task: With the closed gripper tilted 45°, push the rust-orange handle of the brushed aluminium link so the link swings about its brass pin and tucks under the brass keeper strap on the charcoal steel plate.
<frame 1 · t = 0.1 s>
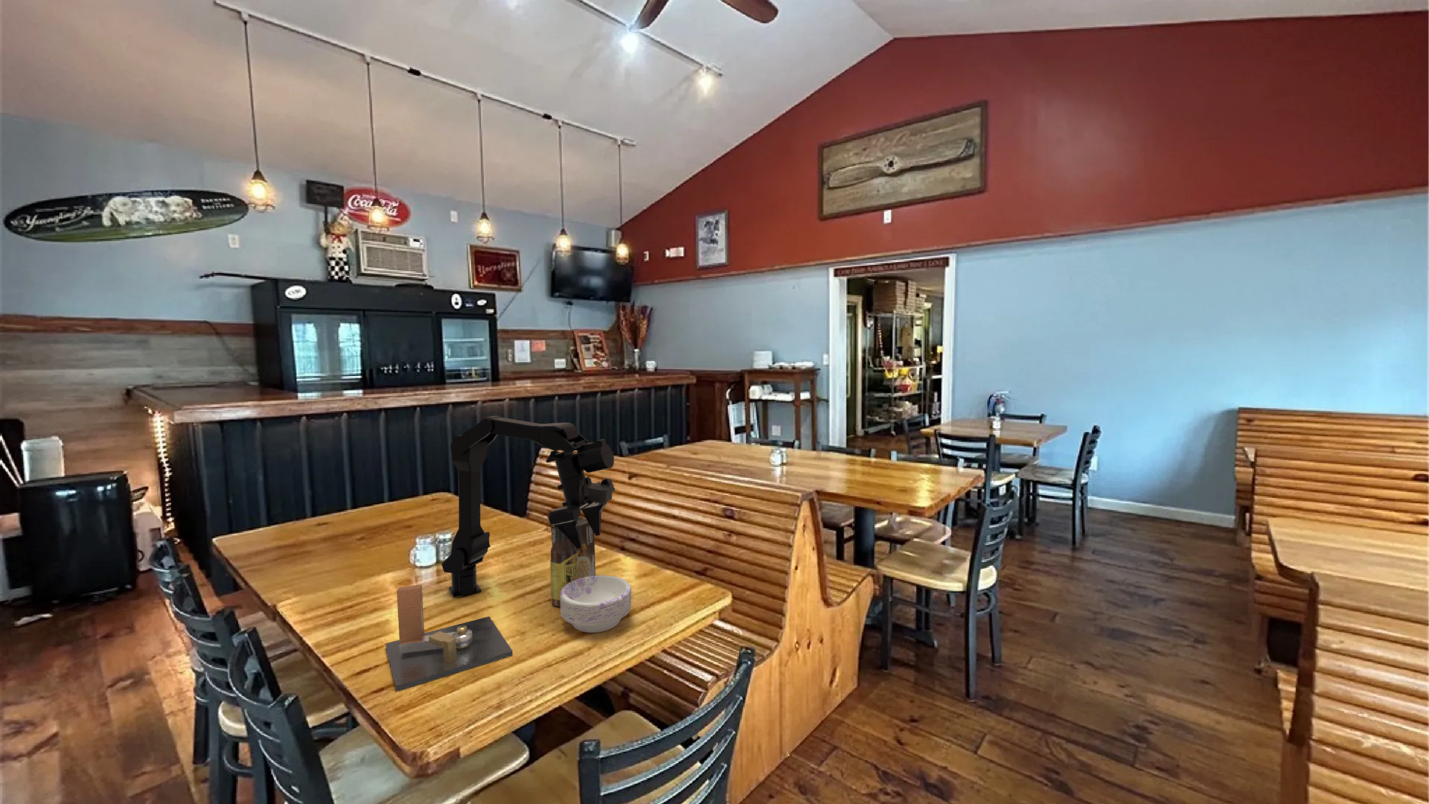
hand: (589, 541, 131), 15 cm above the table, tool pointing down, fingers open, 9 cm apart
paper bowls: (596, 623, 124), on the table
coffee box: (574, 584, 145), on the table
sauce bottle: (565, 603, 134), on the table
link: (435, 615, 111), point 8 cm above the table, hinge at 0.0°
base plate: (448, 651, 112), on the table
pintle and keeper: (462, 650, 113), resting on base plate
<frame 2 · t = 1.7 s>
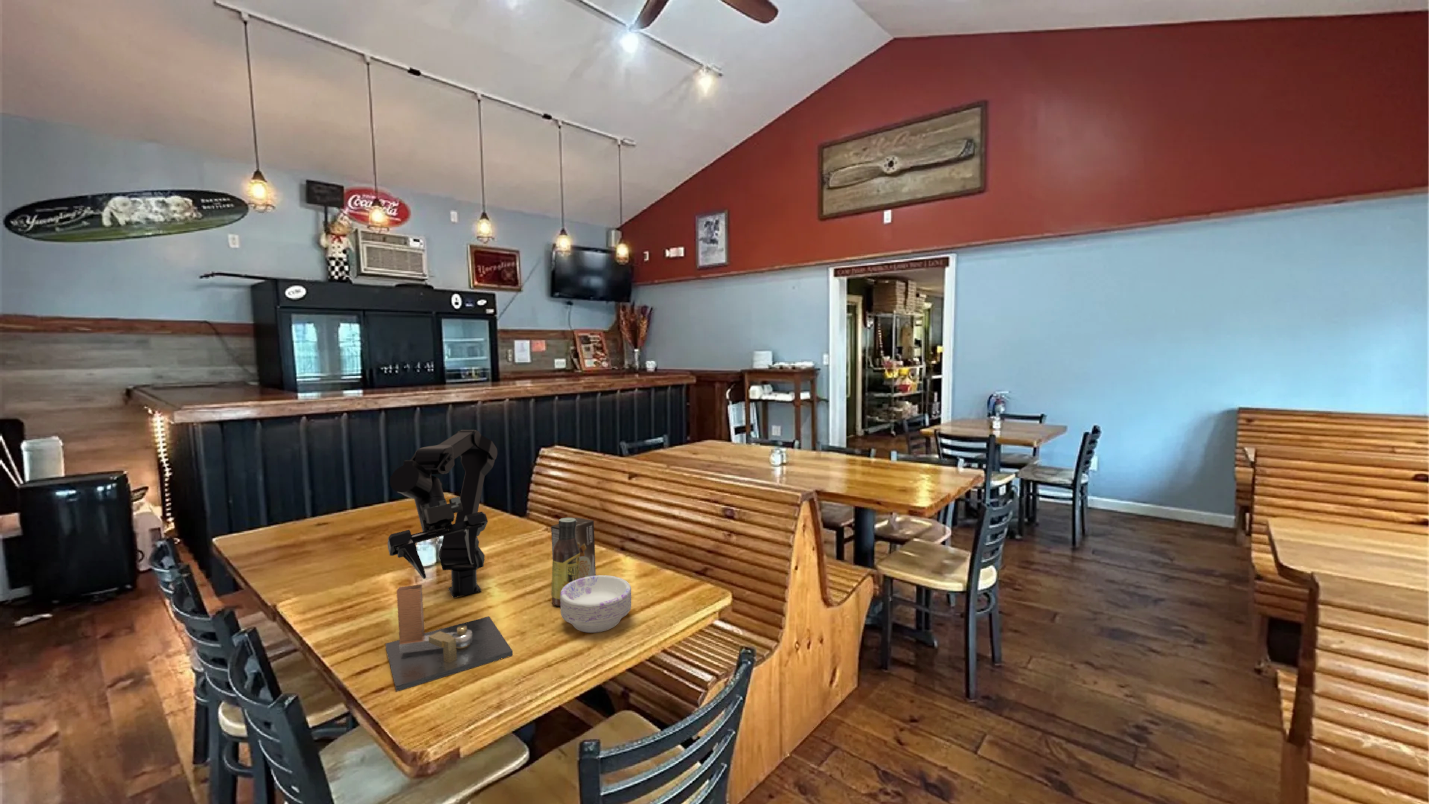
hand: (449, 570, 116), 15 cm above the table, tool tilted 35°, fingers open, 9 cm apart
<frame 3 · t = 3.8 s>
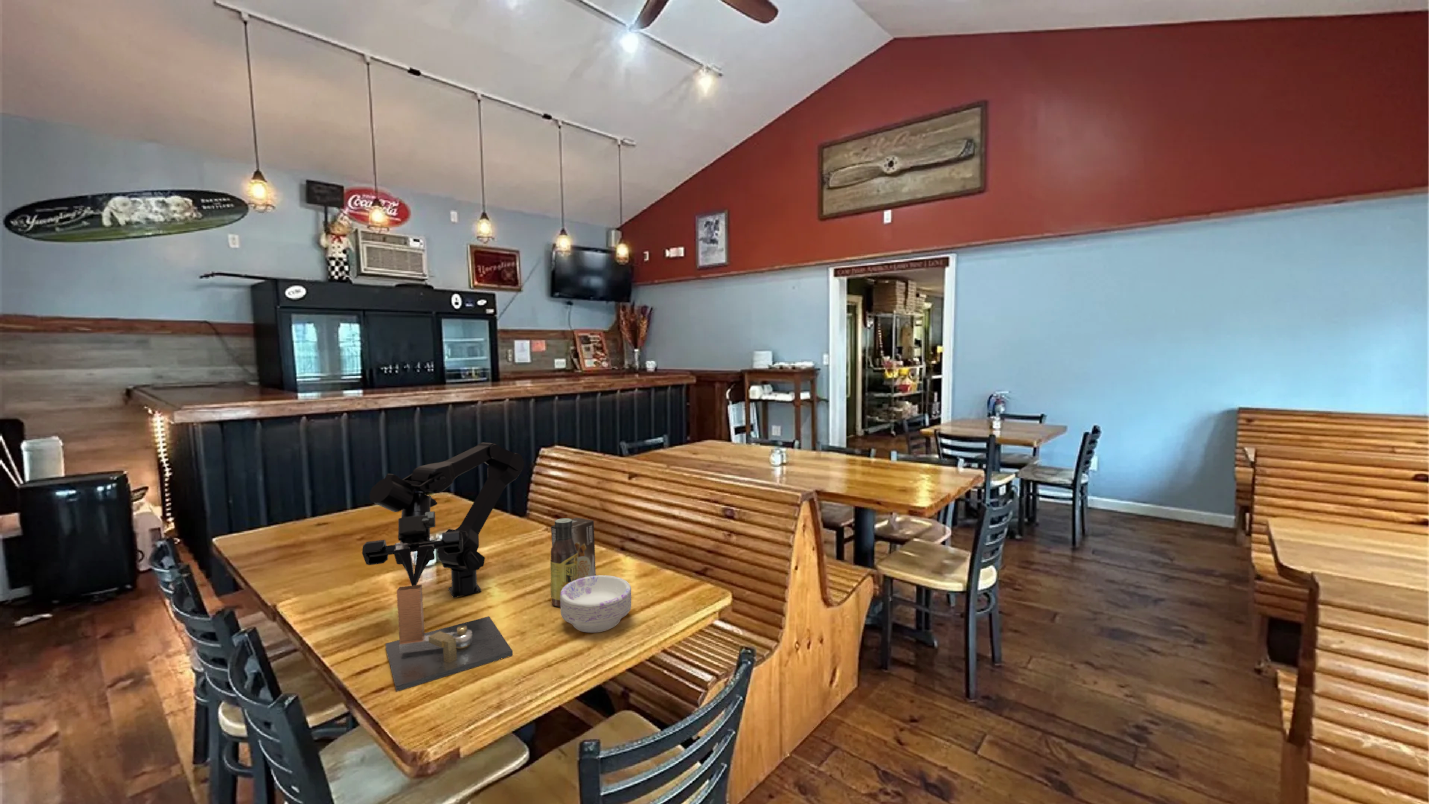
hand: (413, 585, 116), 12 cm above the table, tool tilted 45°, fingers closed
nothing on the table moved.
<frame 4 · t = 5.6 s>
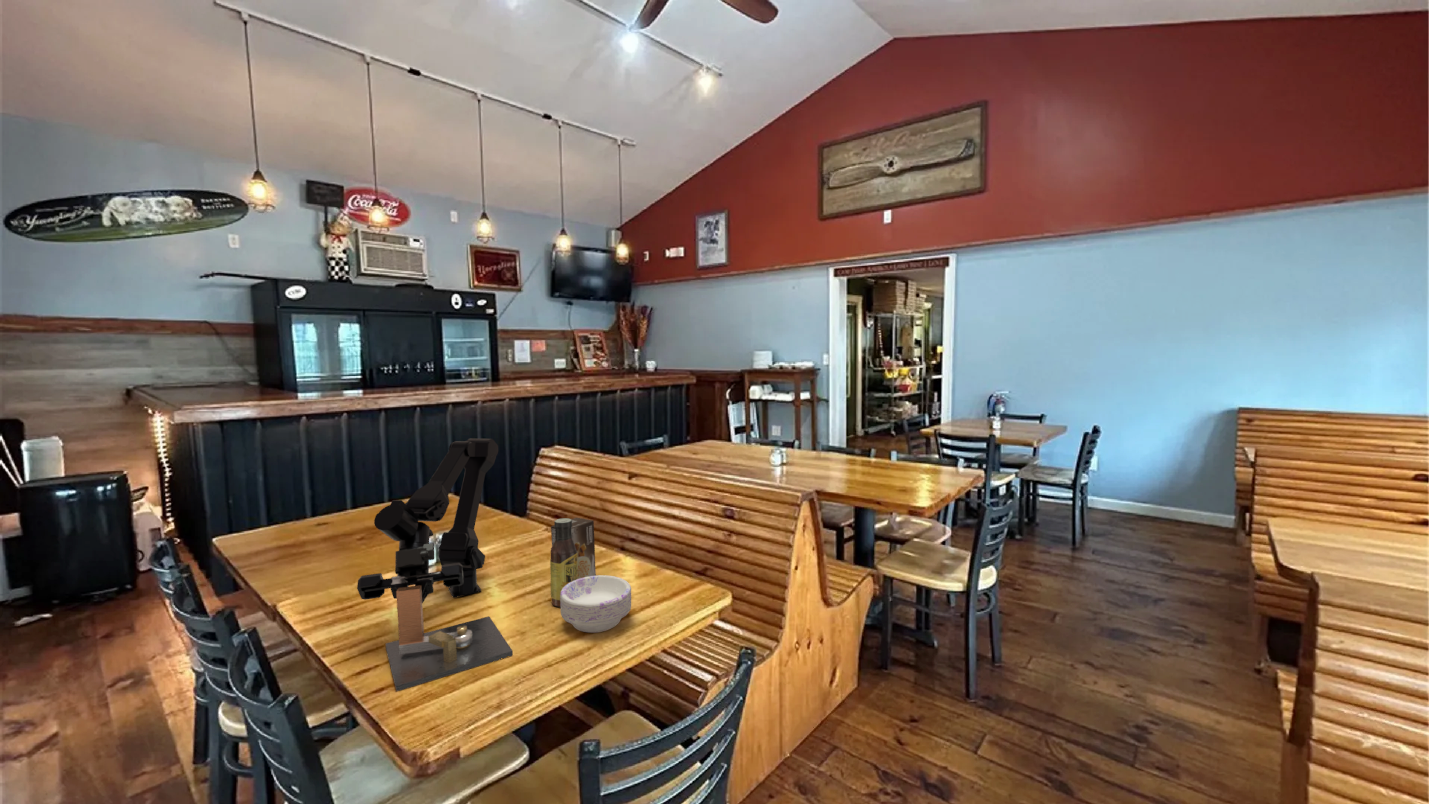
hand: (411, 621, 110), 7 cm above the table, tool tilted 45°, fingers closed, pressing on link
link: (435, 615, 111), point 8 cm above the table, hinge at 2.3°, touching gripper
everything else where it was.
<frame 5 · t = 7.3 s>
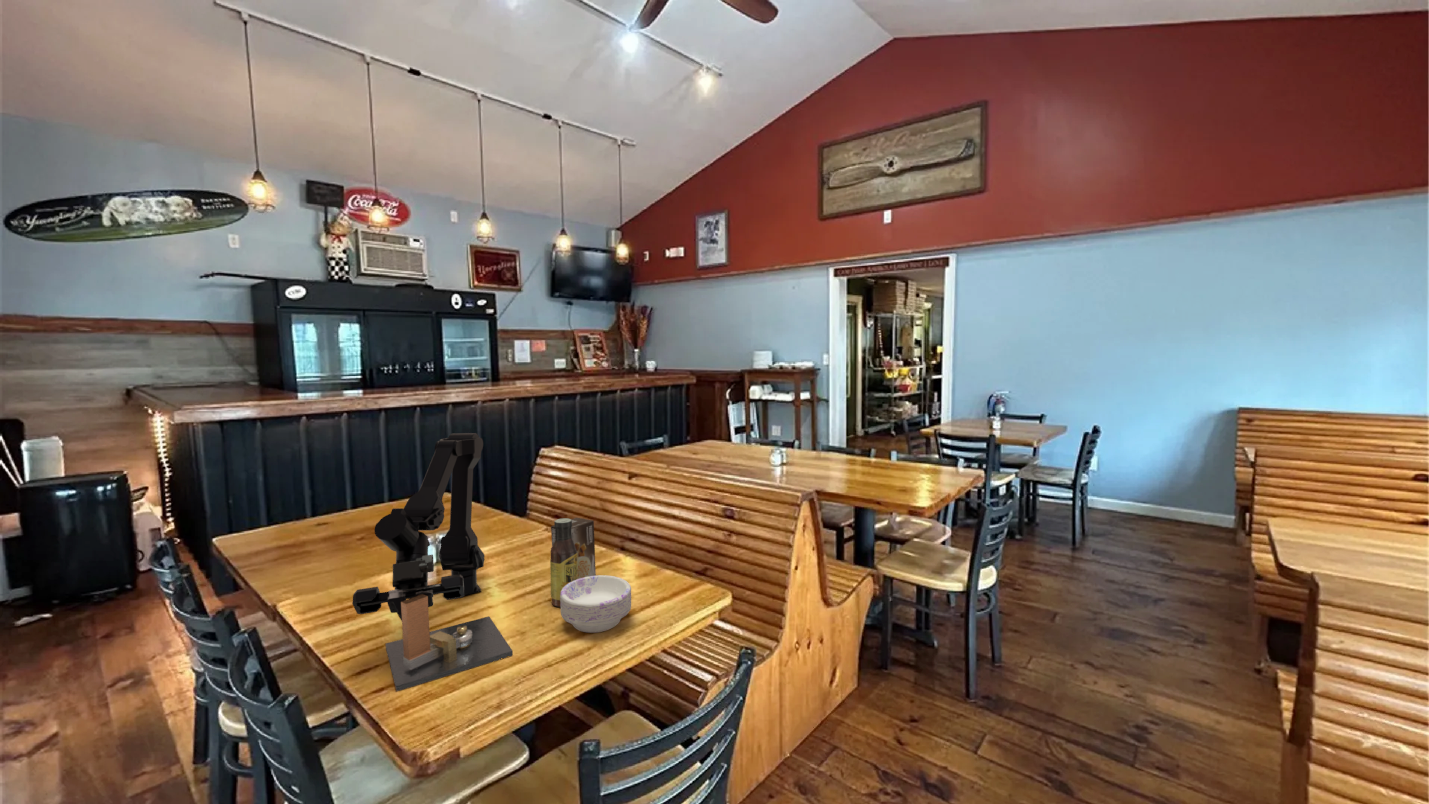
hand: (410, 637, 105), 6 cm above the table, tool tilted 45°, fingers closed
link: (438, 621, 108), point 8 cm above the table, hinge at 40.9°, touching gripper
everything else where it was.
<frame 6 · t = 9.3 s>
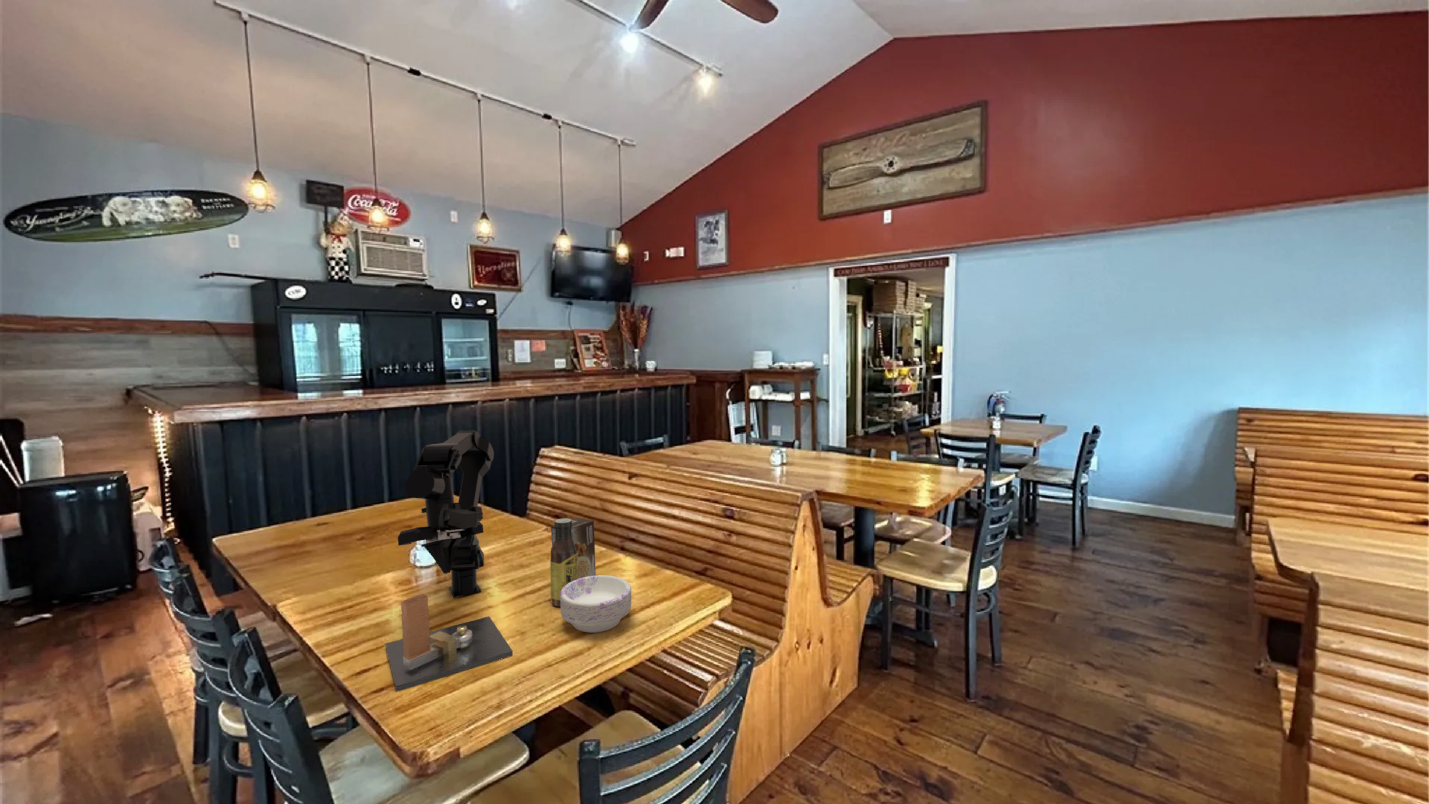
hand: (447, 573, 121), 12 cm above the table, tool tilted 20°, fingers closed
link: (438, 621, 108), point 8 cm above the table, hinge at 40.9°
everything else where it was.
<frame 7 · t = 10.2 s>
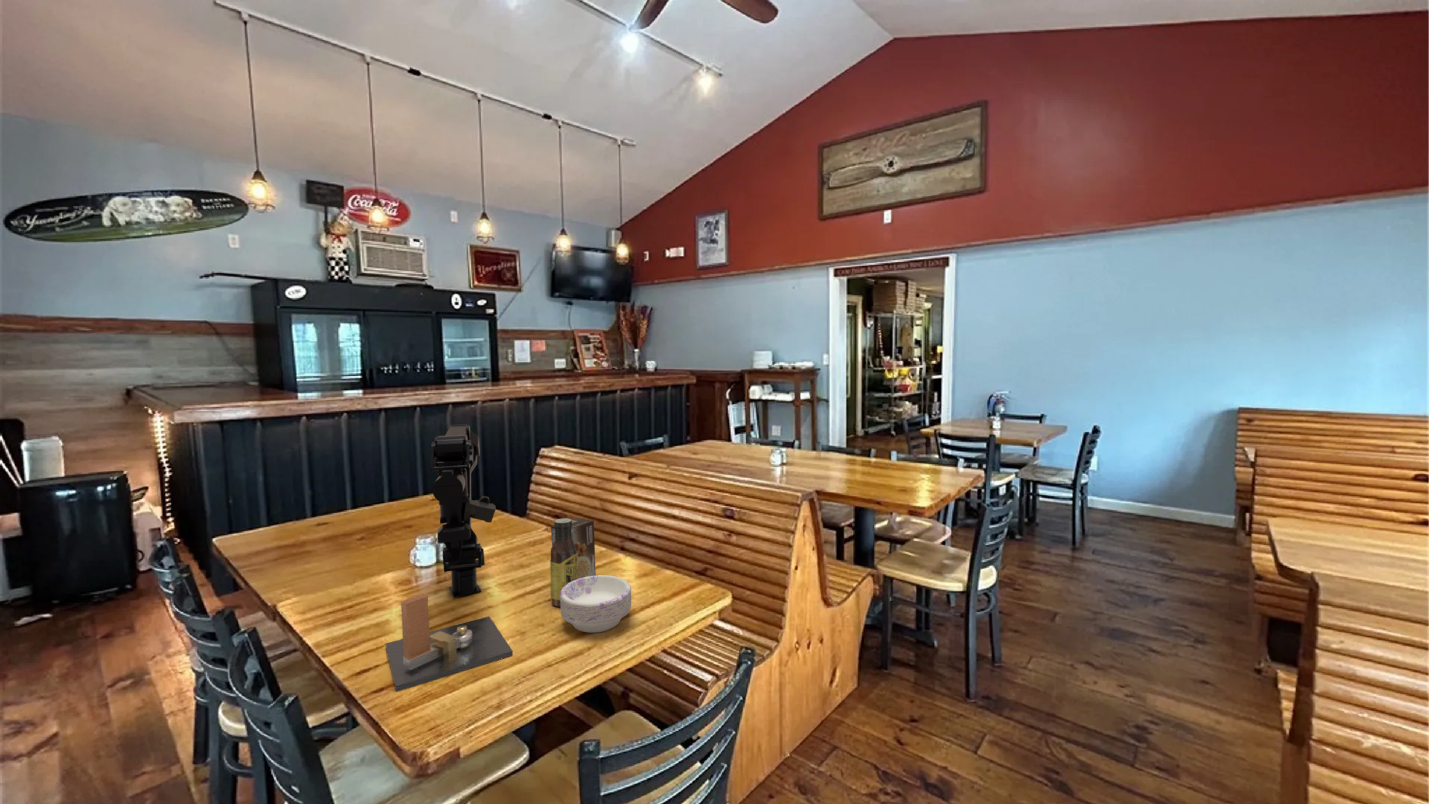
hand: (456, 560, 126), 13 cm above the table, tool pointing down, fingers closed
nothing on the table moved.
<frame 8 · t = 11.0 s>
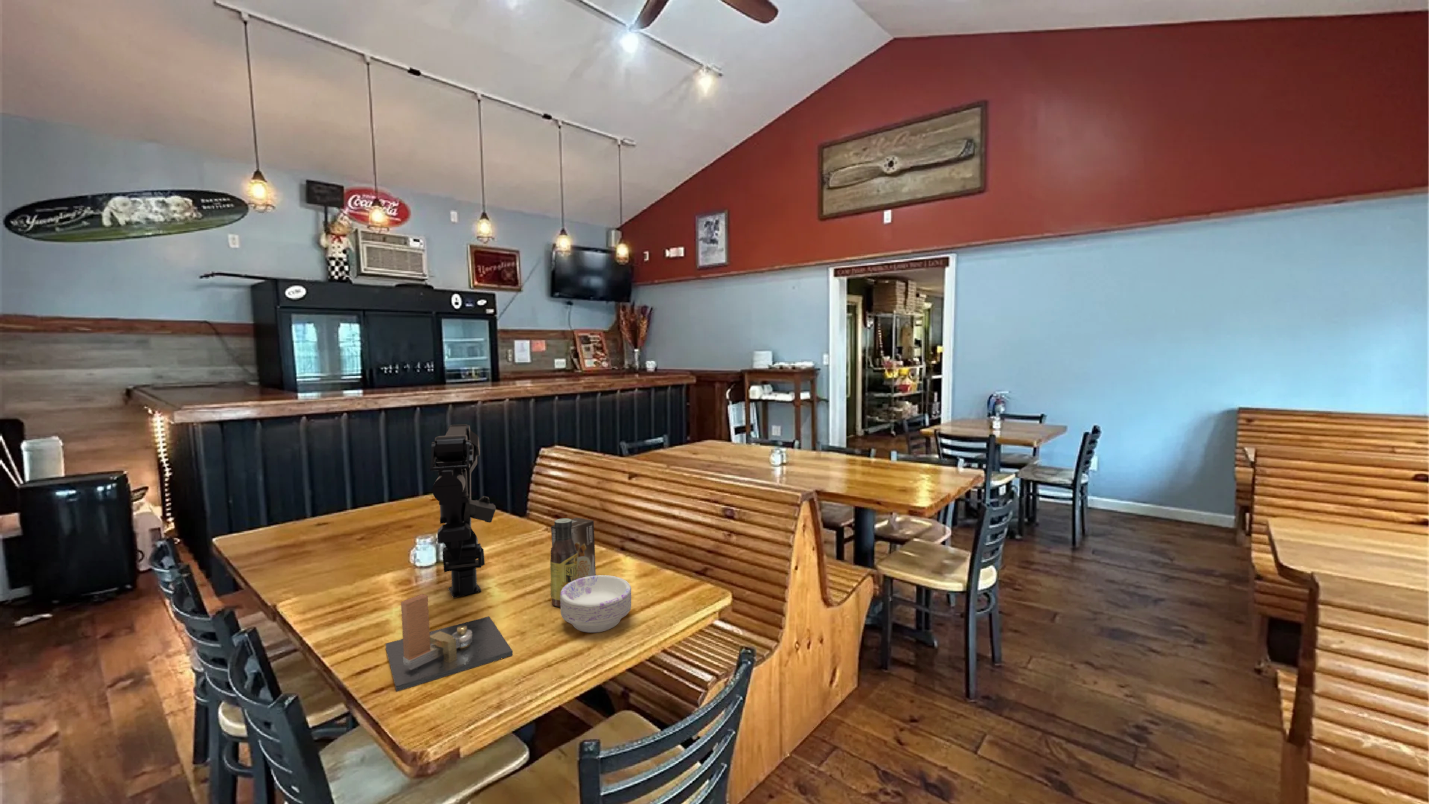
hand: (456, 560, 126), 13 cm above the table, tool pointing down, fingers closed
nothing on the table moved.
at the end: link at +41° (first picture: +0°) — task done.
